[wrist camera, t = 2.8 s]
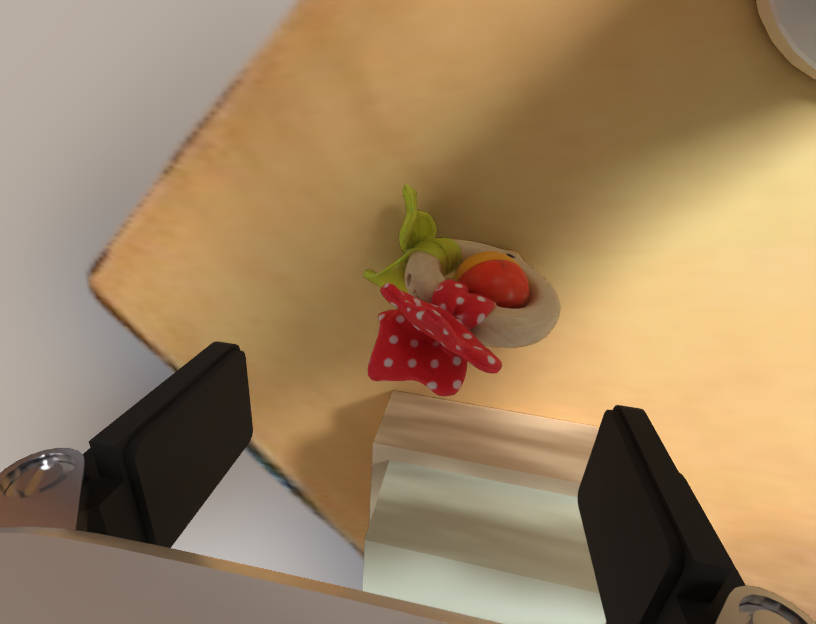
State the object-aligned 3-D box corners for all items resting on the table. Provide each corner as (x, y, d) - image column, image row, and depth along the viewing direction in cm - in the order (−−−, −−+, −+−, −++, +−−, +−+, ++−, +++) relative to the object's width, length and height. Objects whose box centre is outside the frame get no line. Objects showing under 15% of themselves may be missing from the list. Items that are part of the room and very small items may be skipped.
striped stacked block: (392, 390, 28) (343, 520, 19) (597, 426, 26) (650, 589, 17) (382, 531, 34) (342, 680, 25) (547, 568, 32) (567, 743, 23)
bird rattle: (521, 195, 23) (359, 172, 21) (674, 278, 14) (407, 255, 11) (492, 296, 26) (346, 286, 23) (600, 423, 16) (375, 429, 14)
